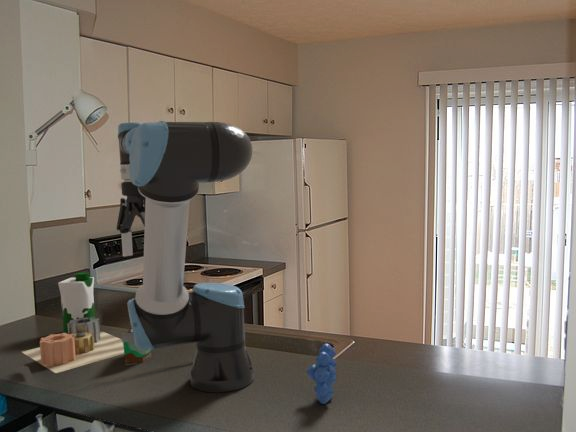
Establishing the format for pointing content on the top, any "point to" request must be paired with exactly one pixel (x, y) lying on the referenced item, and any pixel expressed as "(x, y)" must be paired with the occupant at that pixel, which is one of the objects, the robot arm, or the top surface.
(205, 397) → the top surface
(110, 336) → the carrier
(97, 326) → the seated gear
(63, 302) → the milk carton
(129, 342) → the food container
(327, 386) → the grapes
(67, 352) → the planet gear
